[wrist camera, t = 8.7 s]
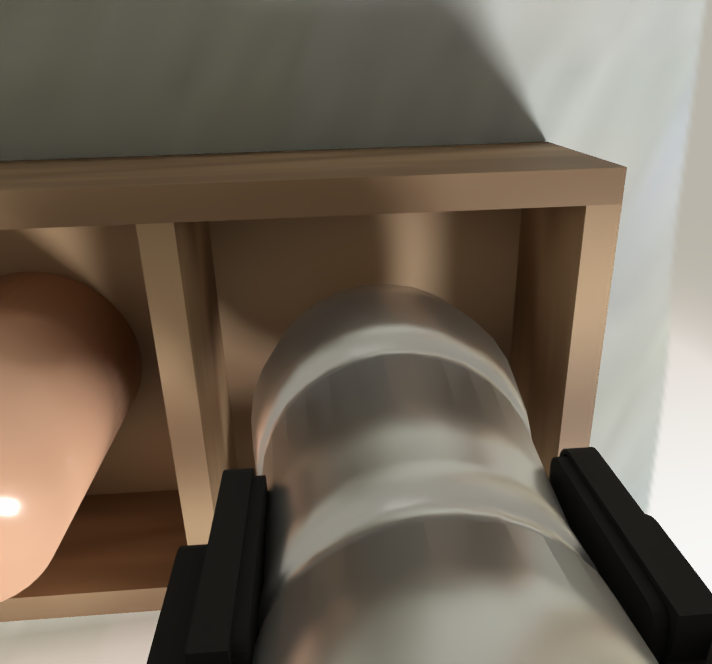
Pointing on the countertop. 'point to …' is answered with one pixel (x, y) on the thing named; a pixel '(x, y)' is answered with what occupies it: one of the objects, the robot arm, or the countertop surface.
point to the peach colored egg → (55, 410)
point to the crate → (294, 306)
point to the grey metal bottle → (414, 500)
